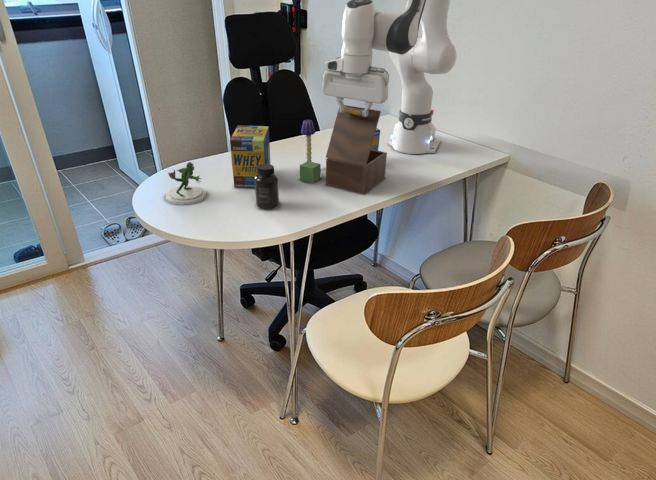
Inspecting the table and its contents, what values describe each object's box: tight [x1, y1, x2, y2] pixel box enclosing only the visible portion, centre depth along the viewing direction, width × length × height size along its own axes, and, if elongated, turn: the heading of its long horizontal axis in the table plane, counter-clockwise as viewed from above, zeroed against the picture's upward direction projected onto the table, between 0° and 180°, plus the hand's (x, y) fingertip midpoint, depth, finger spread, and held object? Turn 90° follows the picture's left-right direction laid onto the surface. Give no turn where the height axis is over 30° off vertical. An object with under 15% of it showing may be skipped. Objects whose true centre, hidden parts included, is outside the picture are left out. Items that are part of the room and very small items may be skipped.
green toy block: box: [299, 160, 322, 184], centre depth 163 cm, size 5×5×5 cm
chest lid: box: [325, 104, 382, 166], centre depth 149 cm, size 17×14×5 cm
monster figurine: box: [165, 161, 207, 206], centre depth 149 cm, size 12×12×10 cm
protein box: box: [229, 124, 271, 189], centre depth 159 cm, size 10×15×16 cm
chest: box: [325, 149, 388, 196], centre depth 160 cm, size 16×14×9 cm
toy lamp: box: [300, 119, 316, 162], centre depth 167 cm, size 5×5×17 cm
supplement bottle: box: [254, 163, 280, 211], centre depth 144 cm, size 7×7×12 cm
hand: (353, 114), depth 148 cm, fingers closed on chest lid, 6 cm apart
